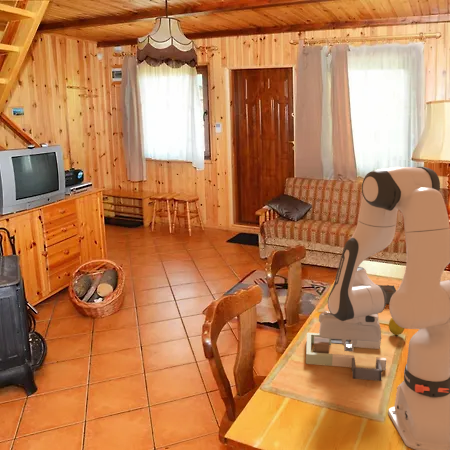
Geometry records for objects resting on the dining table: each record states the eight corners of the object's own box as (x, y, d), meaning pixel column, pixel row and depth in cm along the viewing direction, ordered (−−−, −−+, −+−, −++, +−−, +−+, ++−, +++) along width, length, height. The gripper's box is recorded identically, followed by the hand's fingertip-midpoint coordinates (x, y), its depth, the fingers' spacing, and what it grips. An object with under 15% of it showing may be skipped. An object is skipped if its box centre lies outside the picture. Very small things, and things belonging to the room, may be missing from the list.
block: (328, 357, 173) (329, 344, 172) (313, 356, 174) (314, 343, 173) (328, 350, 178) (328, 337, 177) (313, 349, 179) (314, 336, 178)
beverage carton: (349, 295, 227) (349, 281, 226) (393, 298, 224) (395, 284, 223) (350, 302, 220) (351, 288, 218) (396, 305, 217) (398, 290, 215)
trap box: (388, 381, 159) (389, 371, 158) (305, 374, 163) (305, 364, 162) (377, 338, 187) (377, 329, 186) (306, 333, 191) (307, 324, 190)
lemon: (404, 339, 186) (406, 319, 184) (388, 338, 187) (390, 318, 185) (402, 332, 191) (404, 313, 189) (387, 331, 192) (388, 311, 190)
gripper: (319, 314, 169) (317, 352, 172) (383, 318, 166) (380, 357, 169) (319, 307, 175) (317, 344, 179) (380, 310, 172) (377, 348, 175)
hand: (348, 350), depth 174 cm, fingers closed
